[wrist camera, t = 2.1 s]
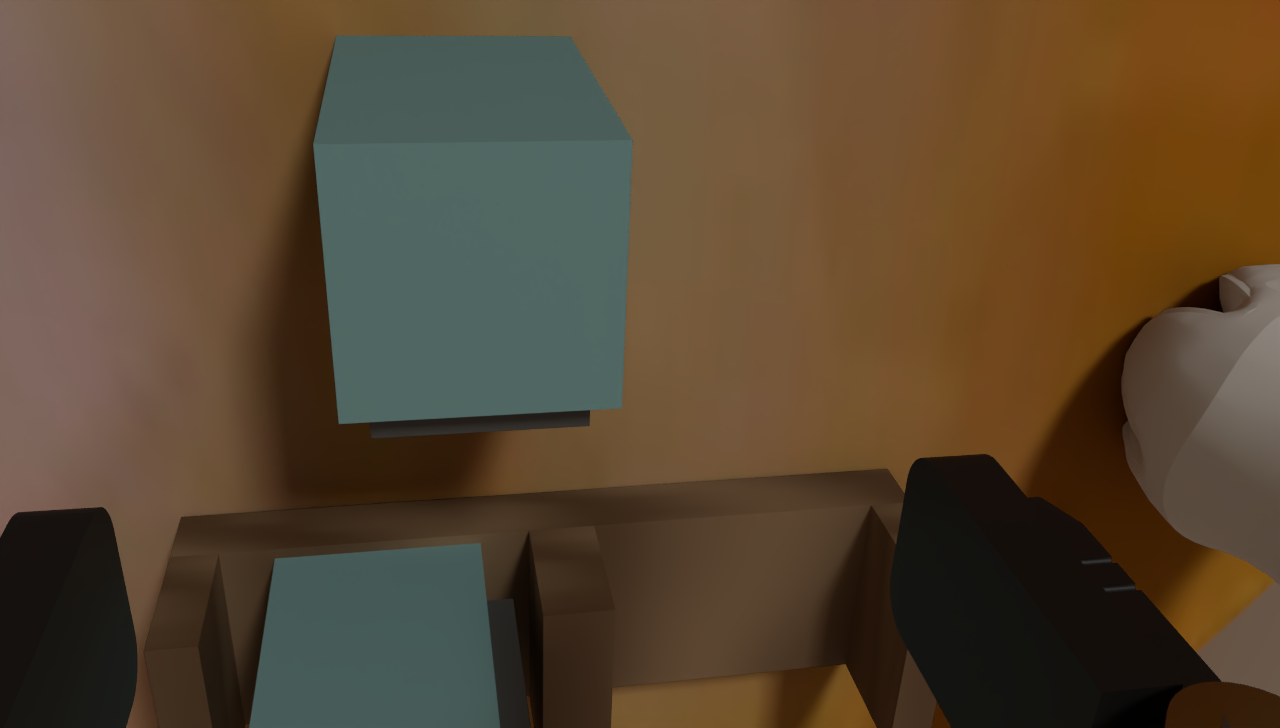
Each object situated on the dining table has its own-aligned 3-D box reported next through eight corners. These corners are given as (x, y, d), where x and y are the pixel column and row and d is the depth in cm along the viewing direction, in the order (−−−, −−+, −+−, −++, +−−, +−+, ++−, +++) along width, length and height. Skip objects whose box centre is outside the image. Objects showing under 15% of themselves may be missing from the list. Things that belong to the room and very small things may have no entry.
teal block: (336, 35, 22) (313, 144, 16) (569, 36, 23) (632, 140, 17) (355, 280, 24) (341, 456, 18) (567, 273, 25) (620, 439, 19)
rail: (210, 683, 29) (180, 832, 25) (181, 517, 26) (143, 651, 22) (861, 622, 32) (927, 746, 28) (887, 468, 29) (962, 579, 25)
